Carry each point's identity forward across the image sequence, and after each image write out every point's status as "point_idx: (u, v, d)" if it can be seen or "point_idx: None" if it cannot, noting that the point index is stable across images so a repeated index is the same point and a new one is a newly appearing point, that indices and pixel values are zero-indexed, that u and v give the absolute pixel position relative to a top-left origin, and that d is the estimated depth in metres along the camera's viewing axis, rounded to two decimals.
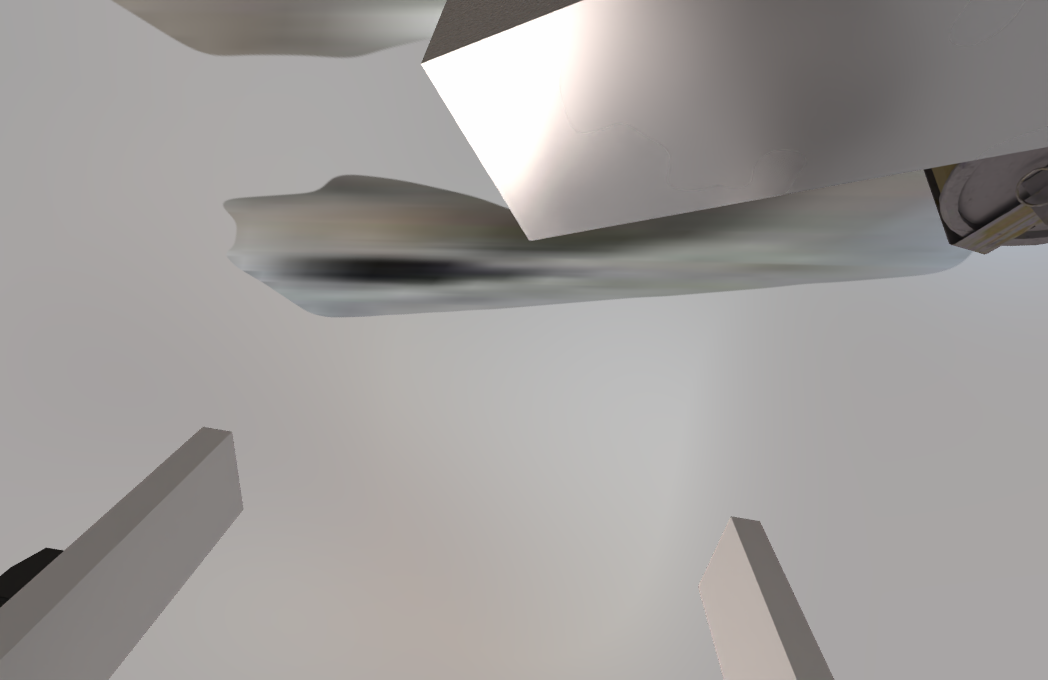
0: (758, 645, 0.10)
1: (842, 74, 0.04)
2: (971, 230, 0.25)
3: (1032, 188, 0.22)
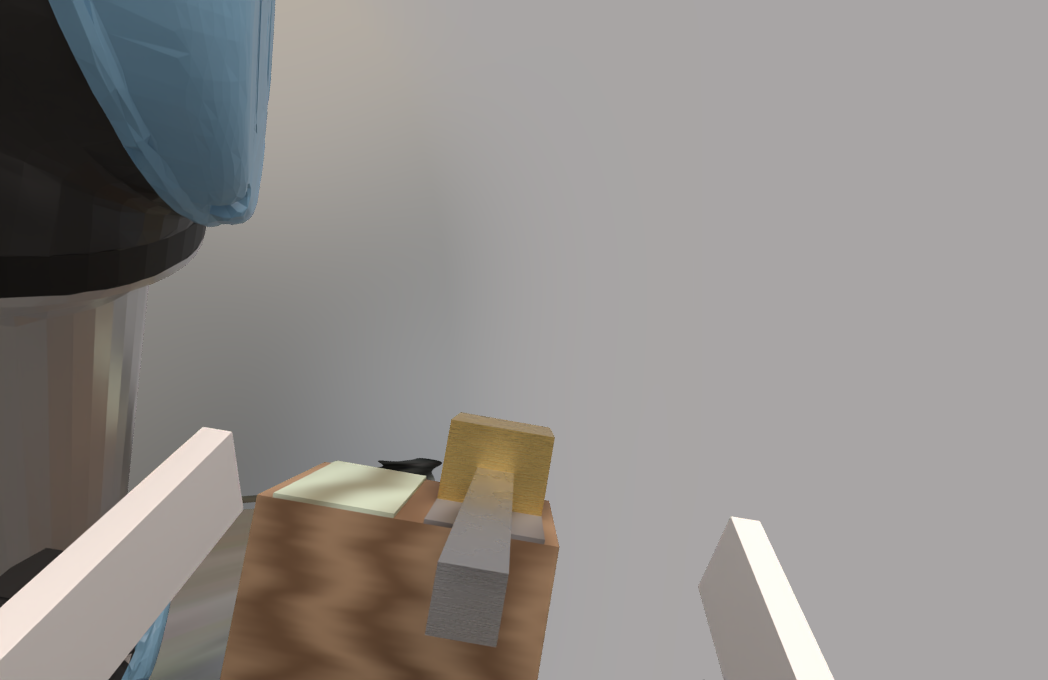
0: (758, 645, 0.10)
1: (480, 534, 0.23)
2: None
3: None
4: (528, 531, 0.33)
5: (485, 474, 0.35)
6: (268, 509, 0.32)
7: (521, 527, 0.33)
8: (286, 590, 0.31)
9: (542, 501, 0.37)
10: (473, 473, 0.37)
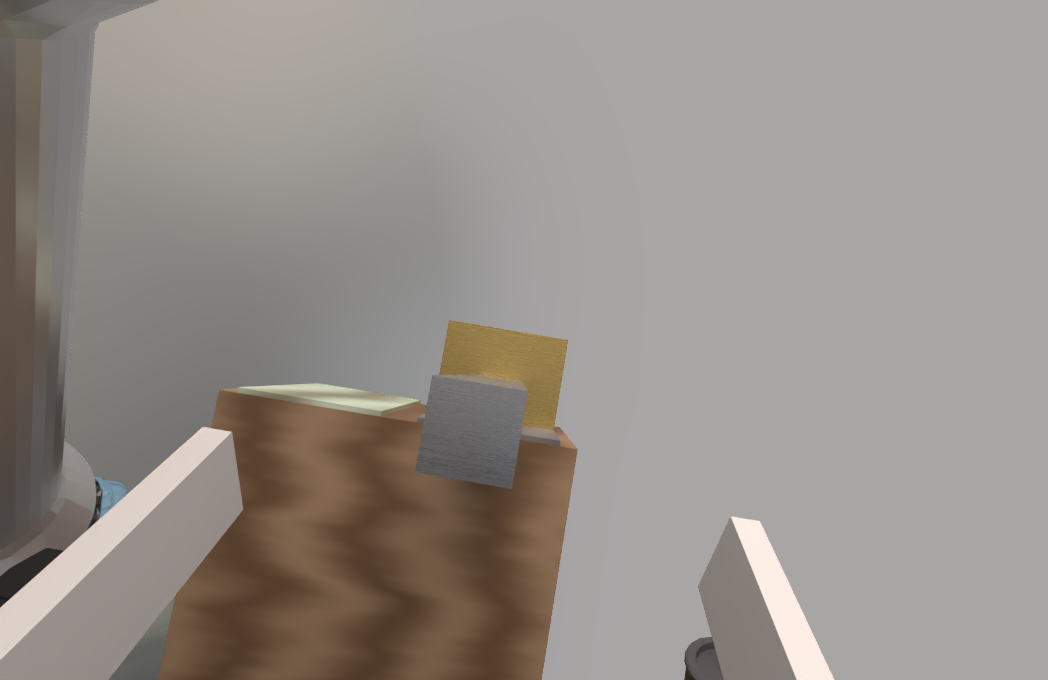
0: (758, 645, 0.10)
1: (487, 381, 0.18)
2: None
3: None
4: (540, 435, 0.28)
5: (489, 376, 0.30)
6: (232, 407, 0.27)
7: (531, 432, 0.28)
8: (253, 502, 0.26)
9: (554, 413, 0.32)
10: None
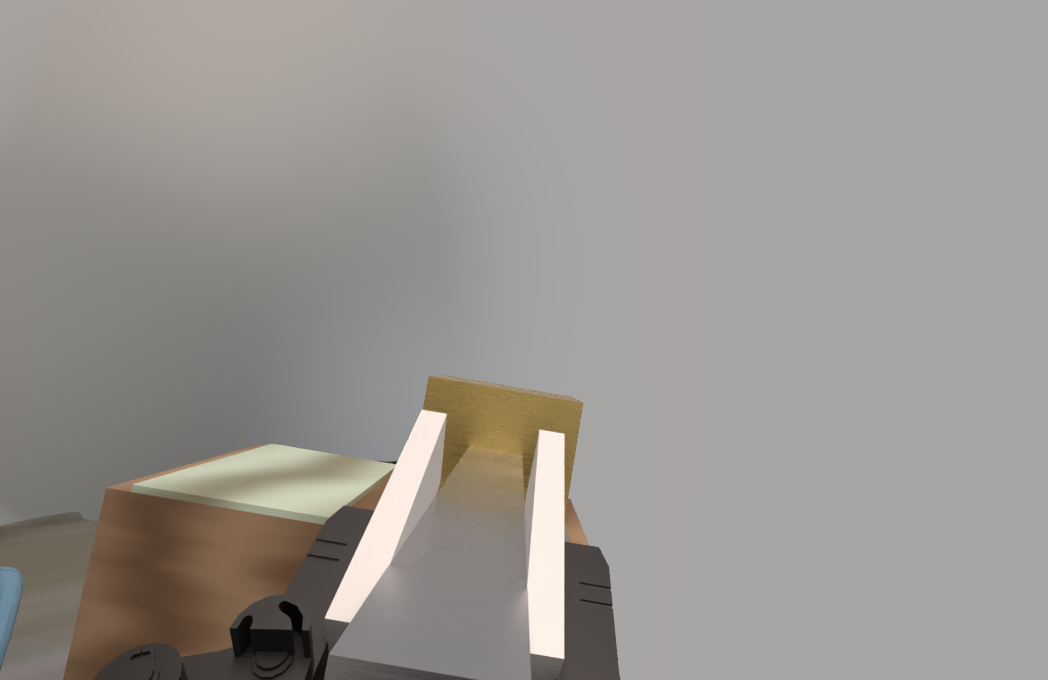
0: (529, 521, 0.12)
1: (462, 562, 0.10)
2: None
3: None
4: None
5: (479, 456, 0.23)
6: (123, 511, 0.19)
7: None
8: None
9: (565, 498, 0.24)
10: (461, 456, 0.25)
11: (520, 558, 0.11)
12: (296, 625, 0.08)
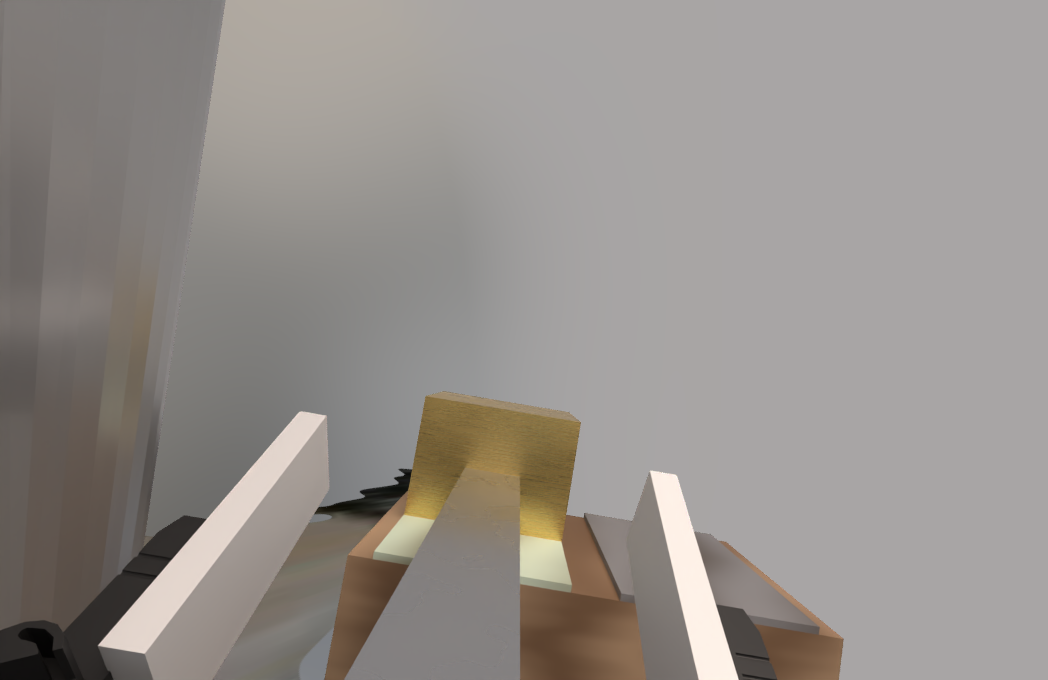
0: (659, 578, 0.11)
1: (454, 611, 0.10)
2: None
3: None
4: (779, 609, 0.20)
5: (476, 478, 0.23)
6: (366, 579, 0.19)
7: (760, 600, 0.21)
8: None
9: (563, 518, 0.24)
10: (459, 476, 0.24)
11: (513, 603, 0.11)
12: (51, 650, 0.07)
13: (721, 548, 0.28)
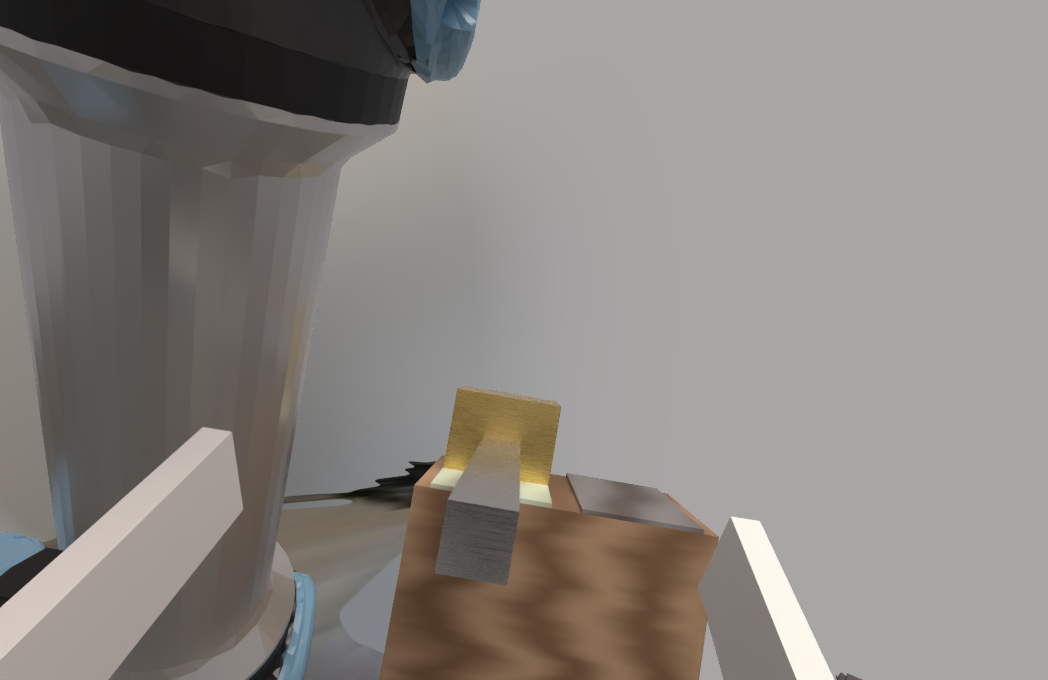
0: (758, 645, 0.10)
1: (489, 482, 0.22)
2: None
3: None
4: (682, 522, 0.32)
5: (492, 441, 0.35)
6: (426, 499, 0.31)
7: (672, 517, 0.33)
8: (445, 581, 0.31)
9: (549, 470, 0.36)
10: (479, 442, 0.37)
11: (516, 483, 0.23)
12: None
13: (660, 495, 0.40)
